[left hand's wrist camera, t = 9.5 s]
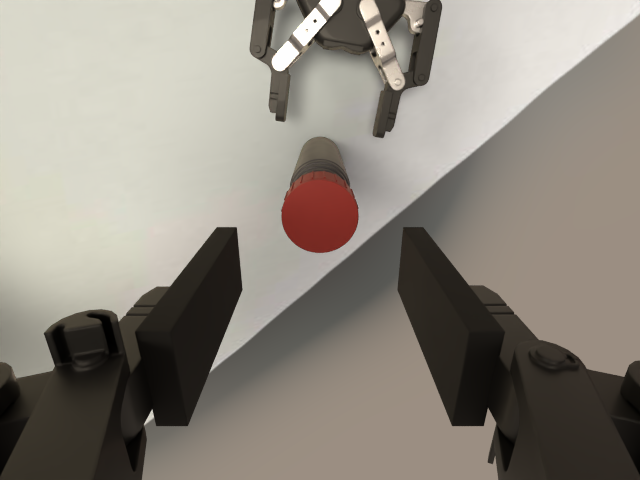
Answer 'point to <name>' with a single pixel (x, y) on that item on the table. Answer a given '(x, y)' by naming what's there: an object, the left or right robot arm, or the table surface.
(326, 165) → the bottle
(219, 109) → the table surface
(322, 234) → the cap
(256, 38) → the right robot arm
